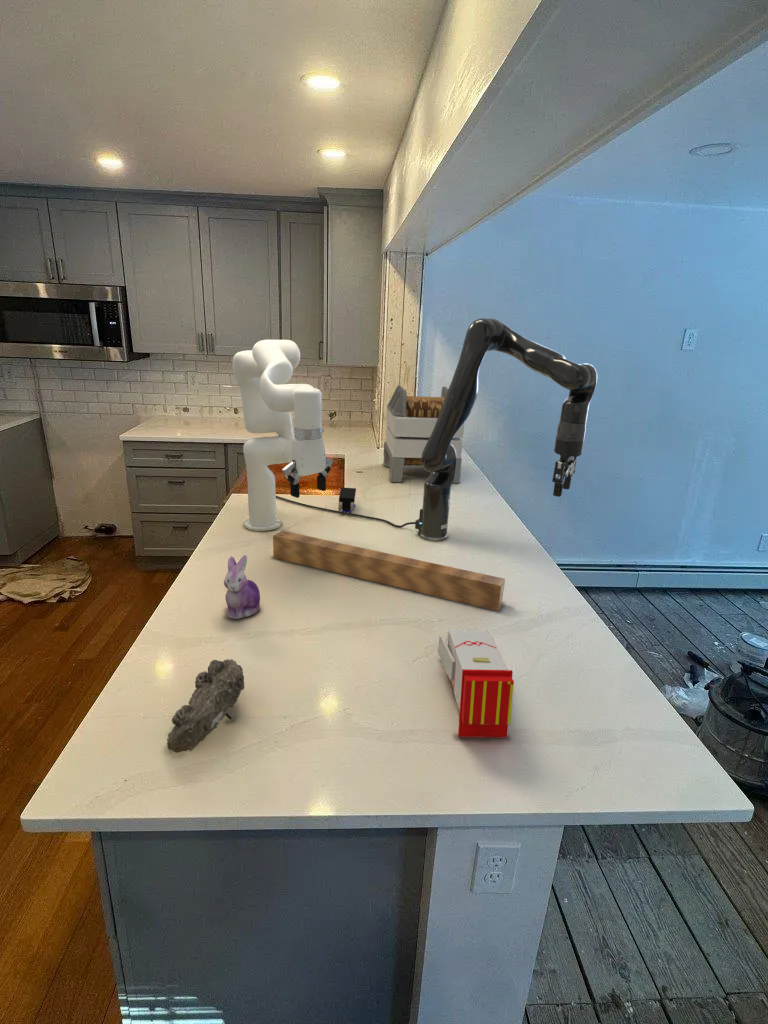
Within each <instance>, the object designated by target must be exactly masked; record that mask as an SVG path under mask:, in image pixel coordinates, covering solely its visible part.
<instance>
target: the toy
mask: <svg viewBox="0 0 768 1024" xmlns="http://www.w3.org/2000/svg"><path fill="white" fill-rule="evenodd" d="M446 640H447V643H446V641H445V639H444V636H443V635H442V634H439V637H438V646H437V656H438V657H439V659H440V661H441V663H442V666H443V668H444V670H445V672H446V674H447V677H448V679H449V681H450V684H451V687H452V690H453V693H454V697H455V701H456V705H457V708H458V711H459V714H458V715H459V716H458V730H457V731H458V732H457V737H458V738H508V731H509V726H510V725H511V717H512V707H513V697H514V696H513V695H514V684H515V680H514V679H513V673H514V671H513V670H512V669H508V667H507V665H506V662H505V661H504V659H503V658H502V655H501V653H500V651H499V649H498V647H497V643H496V639H495V637H494V635H493V634H491V632H490V631H489V629H467V628H466V629H465V628H463V629H461V628H460V629H459V628H448V630H447V639H446Z"/></svg>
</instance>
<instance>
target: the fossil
mask: <svg viewBox="0 0 768 1024" xmlns="http://www.w3.org/2000/svg"><path fill="white" fill-rule="evenodd" d="M243 670H244V669H243V667H242V665H240V664H237V662H236V661H235V660H234V659H232V658H231V659H227V658H226V659H224V660H223V661H222V660H217V659H212V660H211V661H210V663H209V665H208V666H207V671H201V672H199V673H198V674H197V675H196V676H195V680H194V684H195V685H194V687H195V689H194V690H193V693H192V694H191V697H190V698H189V700H188V704H184V705H182V706H181V707H180V709H177V710H176V711H175V713H174V715H173V716H172V718H171V723H172V724H173V727H172V730H171V731H170V732H168V734H167V738H166V741H167V742H166V745H167V749H168V750H169V751H173V752H174V753H176V754H178V753H182V752H188V751H189V752H192V751H193V750H195V748H196V747H197V746H199V744H200V743H201V742H203V741H204V740H205V739H206V738H207V737H208V736H209V735H210V734H211V733H212V732H214V730H215V729H217V727H218V726H219V724H220V722H221V721H222V720H223V719H224V718H225V716H226V717H227V719H229V720H233V717H232V715H230V714H229V710H230V709H231V708H234V706H235V704H236V703H237V702H238V699H239V697H240V695H241V693H242V691H243V690H245V689H244V688H245V675H244V671H243Z"/></svg>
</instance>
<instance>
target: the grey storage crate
mask: <svg viewBox="0 0 768 1024" xmlns="http://www.w3.org/2000/svg"><path fill="white" fill-rule="evenodd" d="M448 389H449V388H447V386H442V387H441V392H440V393H441V394H440V396H415V395H414V396H413V395H412V396H411V395H407V394H408V393H407V390H406V389H404V388H403V387H402V385H399V384H398V385H397V386H396V388H395V390H394V392H393V394H392V395H391V398H390V400H389V402H388V404H387V405H386V413H385V414H386V415H385V423H386V428H385V438H384V442H383V466H384V467H388V468H389V475H388V476H389V477H388V478H389V480H390V482H391V483H402V482H403V475H404V469H405V466H406V467H407V466H411V467H412V466H413V467H415V466H416V467H417V466H418V467H423V465H422V461H421V457H422V452H423V450H424V448H425V446H426V444H427V442H428V440H429V438H430V436H431V434H432V432H433V429H434V427H435V424H436V422H437V419H438V416H439V414H440V411H441V409H442V406H443V403H444V400H445V397H446V394H447V391H448ZM464 429H465V422H464V423H463V425H462V426H461V427H460V428H459V430H458V431H457V432H456V433H455V435H454V436H453V438H452V440H451V442H450V444H451V445H452V446H453V447H454V448H455V451H456V456H457V461H456V469H455V477H454V481H453V484H455V483H456V484H459V483H461V472H462V461H463V460H462V453H463V442H464V441H463V440H462V439H463V438H464V431H465V430H464Z"/></svg>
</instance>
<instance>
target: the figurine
mask: <svg viewBox="0 0 768 1024" xmlns="http://www.w3.org/2000/svg"><path fill="white" fill-rule="evenodd" d="M247 562H248V556H247V555H246V554H243V556H242V557H241V558H240V559H239V560H238V561H236V560H235V557H234V556H232V555H231V556H230V557H228V560H227V573H226V575H225V576H224V577H225V578H224V580H223V585H224V588H226V589H227V590H226V593H225V595H224V596H225V597H224V599H225V603H226V607H227V612H226V617H227V618H230V619H234V620H235V619H236V620H240V619H243V618H248V617H250V616H252V615H254V614H256V613H257V612H259V610H260V603H261V592H260V589H259V587H258V584H256V582H255V581H253V580H250V579H248V578H247V576H246V573H245V570H246V567H247Z"/></svg>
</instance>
